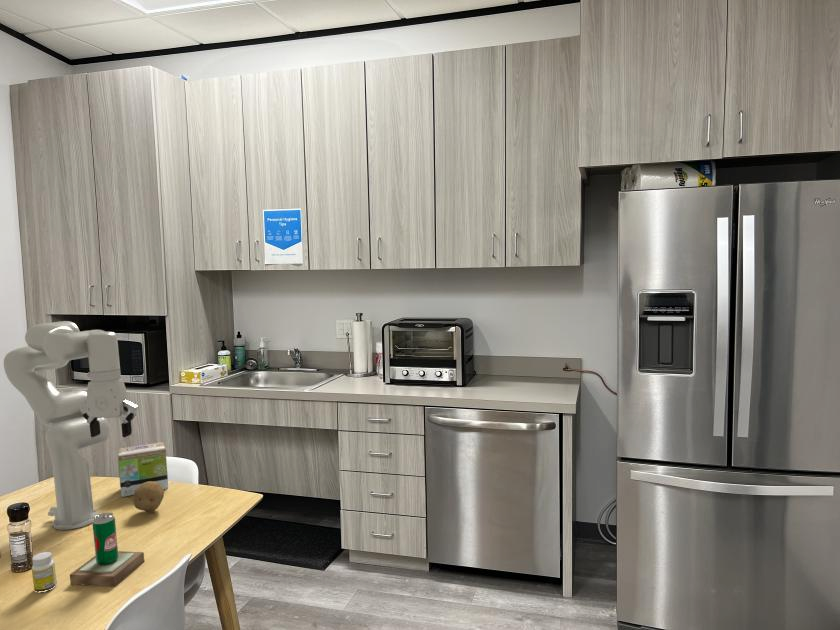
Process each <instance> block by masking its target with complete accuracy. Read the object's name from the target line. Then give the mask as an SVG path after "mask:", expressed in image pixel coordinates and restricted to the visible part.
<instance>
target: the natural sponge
mask: <svg viewBox="0 0 840 630" xmlns="http://www.w3.org/2000/svg"><path fill="white" fill-rule="evenodd" d="M164 490H165V489H164ZM164 490H163V488H162V486H161V485H160V484H158V483H157V482H153V481H149V482H145V483H143V484H142V485H140V486H139V487H138V488H137V489H136V490H135V492H134V495H132V504H133V506H134V507H135V509H137V510H138V511H139V510H140V511H142V512H143V511H144V512H145V513H148V514H149V513H154V512H155V511H156V510H157V509H158V508H159V507H160V505H161V503H162V501H163V500H164V495H165V491H164Z"/></svg>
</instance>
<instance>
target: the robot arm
mask: <svg viewBox="0 0 840 630" xmlns="http://www.w3.org/2000/svg"><path fill="white" fill-rule="evenodd" d="M24 339H25V343H26V344H27V345H28V346H23V347H19V348H16V349H13V350H11V351H9V352H7V353H6V354H5V355H4V358H3V368H4V373H5V376H6V377H7V379H8V381H9V382H10V384H11V385H12V386H13V387H14V388H15V389H16V390H17V391H18V392H19V393H20V394H21V395H22V396H23V397H24V398H25V399H26V402H27V404H28V405H29V406H30V408H31V410H32V411H33V413H34V415H35V416H36V418H37V419H38V421H39V422H40V423H41V424H42V425H43V426H45V427H48V429H47V431H46V433H45V442H46V446H47V448H48V449H47V450H48V452H49V456H50V460H51V465H52V474H53V482H54V492H55V500H56V506H51V507H50V508H49V511H48V512H47V516H49V517H54V520H53V521H52V527H53V529H54V530H55V529H56V530H59V531H60V530H61V531H64V530H65V531H66V530H74V529H75V530H76V529H80V528H82V527H85V526H89V525H90V524H92V522H93V520H94V517H95V516H97V515H99V514H101V513H100V511H99V510H97V509H95V508H94V503H93V502H94V501H93V492H92V483H91V474H90V473H91V472H90V464H89V461H88V459H87V458H86V457H85V456H84V455H82V453H80V451H81V450H83V449H86V448H90V447H93V446H97V445H99V444H102V443H104V442H106V441H107V440H108V439H109V438H110V436H111V425H110V423H109V421H108V419H110V418H112V419H114V418H119V419H120V420H121V422H122V423H121V425H120V426H121V436H122V438H126V437H129V436H131V435H132V432H133V431H132V430H133V429H132V421H133V420H134V418H135V417H136V416H137V412H138V410H139V406H138V405H137V404H135V403H133V402H131V401H129V398H128V394H127V388H126V385H125V382H124V379H123V378H122V375H121V374H122V373H121V366H120V365H121V364H120V354H119V353H120V352H119V343H118V335H117V333H115V332H114V331H105V330H102V329H91V330H83V331H80V329H79V327H78V326H77V324H76V323H75V322H72V321H69V320H63V321H62V320H61V321H54V322H53V321H52V322H43V323H38V324H35V325H32V326H31V327H30V328H29V329H28V330H27V331H26V333H25V336H24ZM84 358H88V365H89V372H87V373H86V375H87V377H88V378H90V381H88V383H87V389H86V391H85V390H81V389H76V390H71V391H67V392H60V391H59V390H58V389H57V387H56V385H55V384H54V383H53V381H51V380H50V379H48V378H46V377H44V376H42V375H40V374H37V373H41V372H45V371H50V370H51V371H53V370H57V369H61V368H63V367H65V366H67V364H68V363H69V362H70V361H72V360H73V361H74V360H80V359H84ZM129 410H130V412H129Z"/></svg>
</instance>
